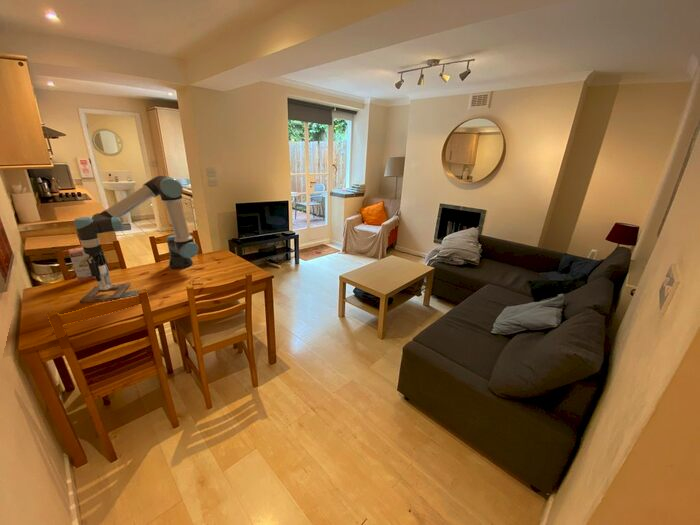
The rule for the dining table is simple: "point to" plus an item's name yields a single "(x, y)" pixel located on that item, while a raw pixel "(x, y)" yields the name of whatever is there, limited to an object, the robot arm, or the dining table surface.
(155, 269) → the dining table surface
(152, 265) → the dining table surface
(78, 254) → the cracker box
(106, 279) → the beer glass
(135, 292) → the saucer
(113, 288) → the pocket frame
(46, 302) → the dining table surface
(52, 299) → the dining table surface
